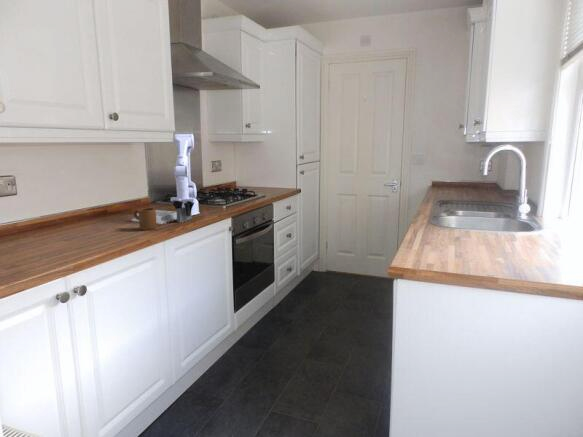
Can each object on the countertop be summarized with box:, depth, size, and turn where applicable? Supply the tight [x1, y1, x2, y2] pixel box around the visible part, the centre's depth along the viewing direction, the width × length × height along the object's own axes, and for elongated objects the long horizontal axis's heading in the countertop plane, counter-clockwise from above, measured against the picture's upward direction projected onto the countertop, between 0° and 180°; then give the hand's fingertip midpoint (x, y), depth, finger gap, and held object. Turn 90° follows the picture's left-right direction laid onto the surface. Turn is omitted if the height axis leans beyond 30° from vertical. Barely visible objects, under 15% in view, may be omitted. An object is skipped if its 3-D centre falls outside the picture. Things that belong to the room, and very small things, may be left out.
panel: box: [175, 207, 193, 223], centre depth 211 cm, size 9×2×7 cm, turn 155°
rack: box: [131, 209, 177, 225], centre depth 215 cm, size 16×20×4 cm
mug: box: [132, 207, 158, 232], centre depth 193 cm, size 12×8×9 cm, turn 66°
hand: (184, 215), depth 211 cm, fingers open, 5 cm apart
